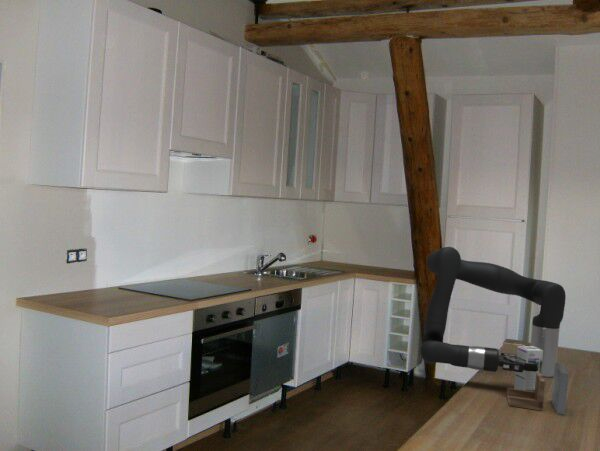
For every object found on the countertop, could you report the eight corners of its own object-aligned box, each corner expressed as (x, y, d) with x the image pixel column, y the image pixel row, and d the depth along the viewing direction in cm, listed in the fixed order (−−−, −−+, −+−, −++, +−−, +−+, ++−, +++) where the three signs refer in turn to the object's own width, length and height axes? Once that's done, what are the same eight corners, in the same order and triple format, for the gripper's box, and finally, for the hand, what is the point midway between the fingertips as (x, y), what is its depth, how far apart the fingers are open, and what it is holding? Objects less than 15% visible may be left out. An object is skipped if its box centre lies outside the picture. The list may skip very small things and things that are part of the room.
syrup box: (524, 395, 202) (528, 349, 201) (513, 389, 208) (517, 345, 207) (539, 395, 204) (544, 349, 203) (528, 389, 209) (532, 345, 208)
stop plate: (551, 401, 197) (554, 363, 197) (558, 402, 197) (561, 363, 196) (557, 413, 186) (561, 372, 185) (564, 414, 185) (568, 373, 185)
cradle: (506, 395, 200) (509, 368, 199) (538, 400, 197) (540, 372, 197) (509, 405, 189) (511, 377, 189) (542, 410, 187) (545, 381, 187)
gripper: (484, 352, 201) (539, 358, 198) (482, 342, 215) (534, 348, 211) (482, 375, 202) (537, 382, 198) (480, 364, 216) (532, 371, 212)
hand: (535, 365), depth 205 cm, fingers closed on syrup box, 7 cm apart
